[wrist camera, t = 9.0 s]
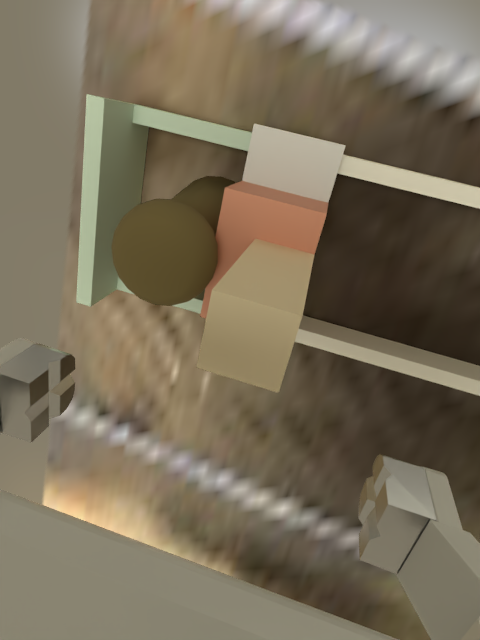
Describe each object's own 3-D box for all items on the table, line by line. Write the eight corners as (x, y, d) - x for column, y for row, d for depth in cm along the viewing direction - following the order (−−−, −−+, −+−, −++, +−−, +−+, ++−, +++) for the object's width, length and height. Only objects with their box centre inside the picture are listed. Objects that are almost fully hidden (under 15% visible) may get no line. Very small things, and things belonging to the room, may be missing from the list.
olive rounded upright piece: (273, 204, 28) (238, 238, 18) (233, 279, 30) (183, 345, 20) (194, 158, 27) (115, 167, 18) (160, 237, 30) (75, 283, 20)
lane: (631, 224, 24) (718, 247, 18) (525, 393, 29) (569, 450, 23) (136, 104, 27) (86, 94, 21) (120, 275, 32) (76, 302, 27)
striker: (344, 145, 25) (355, 147, 11) (287, 333, 30) (246, 495, 16) (264, 125, 25) (176, 104, 11) (222, 314, 31) (129, 455, 17)
